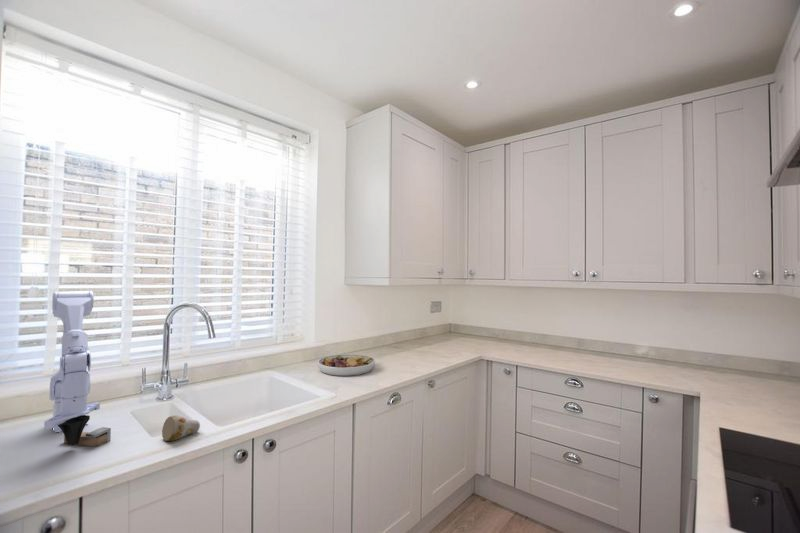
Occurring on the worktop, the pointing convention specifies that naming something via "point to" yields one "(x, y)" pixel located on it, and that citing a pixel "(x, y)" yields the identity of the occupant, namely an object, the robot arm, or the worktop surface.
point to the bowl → (346, 364)
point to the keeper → (100, 431)
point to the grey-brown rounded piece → (178, 427)
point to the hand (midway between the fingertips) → (73, 444)
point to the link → (90, 440)
